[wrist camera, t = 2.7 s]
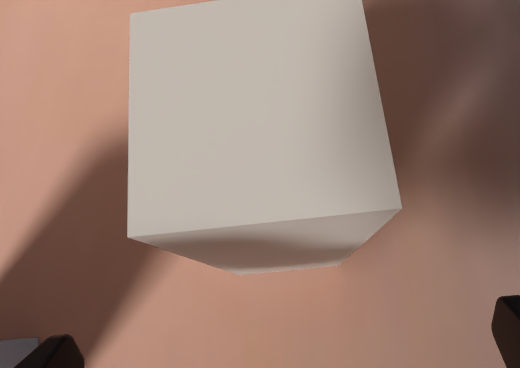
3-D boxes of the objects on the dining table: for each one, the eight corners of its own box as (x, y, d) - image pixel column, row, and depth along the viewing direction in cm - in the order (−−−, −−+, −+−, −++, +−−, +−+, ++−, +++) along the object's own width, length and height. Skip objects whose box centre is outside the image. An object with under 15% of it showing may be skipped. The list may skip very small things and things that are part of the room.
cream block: (338, 265, 19) (402, 208, 7) (238, 275, 20) (127, 237, 7) (325, 170, 21) (357, -22, 8) (232, 180, 21) (130, 13, 9)
